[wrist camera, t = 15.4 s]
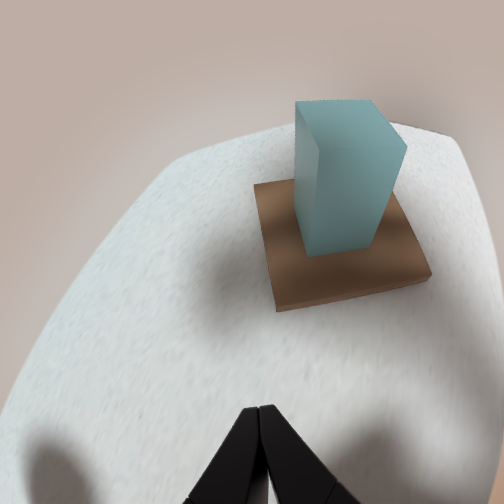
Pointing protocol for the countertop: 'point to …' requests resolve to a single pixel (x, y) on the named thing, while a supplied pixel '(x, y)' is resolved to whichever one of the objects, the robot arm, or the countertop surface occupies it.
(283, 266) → the post board
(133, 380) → the countertop surface
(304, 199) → the teal rectangular prism
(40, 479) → the countertop surface
